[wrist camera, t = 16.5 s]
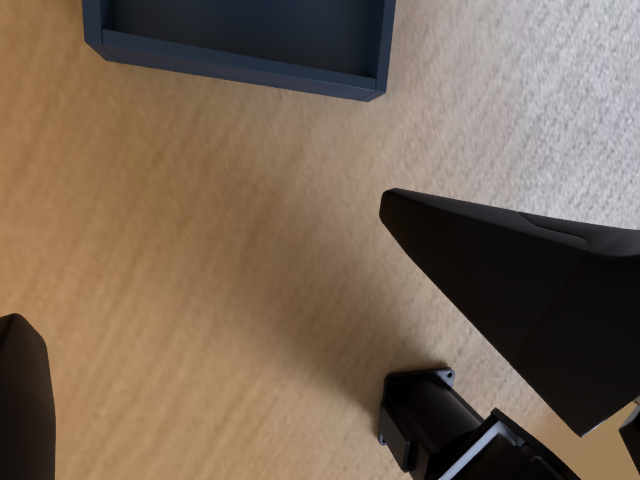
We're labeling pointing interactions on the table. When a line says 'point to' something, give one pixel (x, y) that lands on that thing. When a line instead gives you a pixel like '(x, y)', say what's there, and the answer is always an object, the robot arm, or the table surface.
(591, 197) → the table surface
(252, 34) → the tray
